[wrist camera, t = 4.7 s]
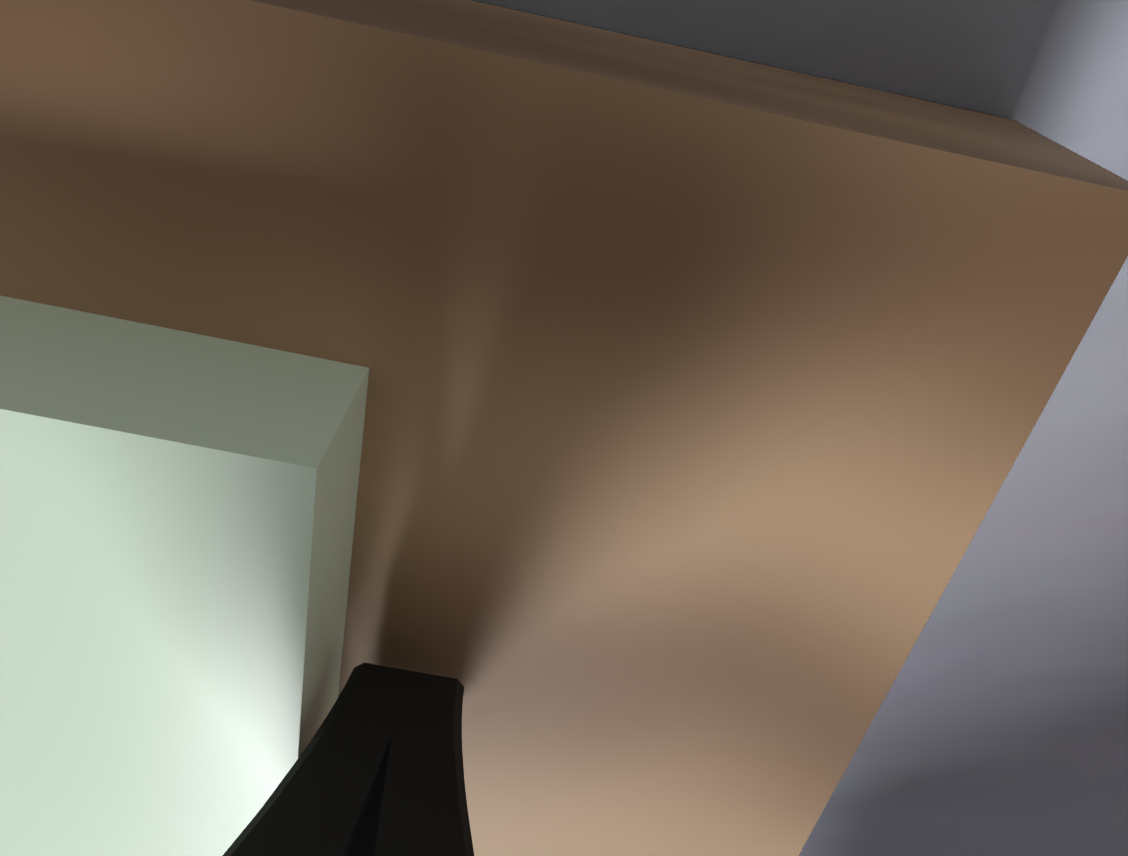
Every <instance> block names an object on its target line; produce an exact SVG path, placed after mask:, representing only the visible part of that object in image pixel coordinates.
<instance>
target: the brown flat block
mask: <svg viewBox="0 0 1128 856" xmlns="http://www.w3.org/2000/svg"><path fill="white" fill-rule="evenodd" d="M1127 256H1128V181H1127V180H1125V179H1123V178H1121V177H1119V176H1118V175H1116V174H1114V173H1112V172H1110V171H1108V170H1106V169H1105V168H1103V167H1101V166H1099V165H1097V164H1095V163H1093V162H1091V161H1090V160H1088V159H1086V158H1084V157H1082V156H1080V155H1078V154H1076V153H1075V152H1073V151H1071V150H1069V149H1067V148H1065V147H1063V146H1062V145H1060V144H1058V143H1056V142H1054V141H1052V140H1050V139H1048V138H1047V137H1045V136H1043V135H1041V134H1039V133H1037V132H1035V131H1033V130H1032V129H1030V128H1028V127H1026V126H1024V125H1022V124H1020V123H1018V122H1017V121H1015V120H1012V119H1007V118H1003V117H998V116H994V115H989V114H985V113H980V112H975V111H971V110H966V109H962V108H957V107H953V106H948V105H944V104H939V103H935V102H930V101H926V100H921V99H917V98H912V97H907V96H903V95H898V94H894V93H889V92H885V91H880V90H876V89H871V88H867V87H862V86H858V85H853V84H848V83H844V82H839V81H835V80H830V79H826V78H821V77H817V76H812V75H808V74H803V73H799V72H794V71H790V70H785V69H780V68H776V67H771V66H767V65H762V64H758V63H753V62H749V61H744V60H740V59H735V58H731V57H726V56H722V55H717V54H712V53H708V52H703V51H699V50H694V49H690V48H685V47H681V46H676V45H672V44H667V43H663V42H658V41H654V40H649V39H644V38H640V37H635V36H631V35H626V34H622V33H617V32H613V31H608V30H604V29H599V28H595V27H590V26H586V25H581V24H576V23H572V22H567V21H563V20H558V19H554V18H549V17H545V16H540V15H536V14H531V13H527V12H522V11H518V10H513V9H508V8H504V7H499V6H495V5H490V4H486V3H481V2H477V1H472V0H0V296H6V297H11V298H16V299H21V300H26V301H31V302H36V303H41V304H46V305H52V306H57V307H62V308H67V309H72V310H77V311H82V312H87V313H93V314H98V315H103V316H108V317H113V318H118V319H123V320H128V321H133V322H139V323H144V324H149V325H154V326H159V327H164V328H169V329H174V330H180V331H185V332H190V333H195V334H200V335H205V336H210V337H215V338H220V339H226V340H231V341H236V342H241V343H246V344H251V345H256V346H261V347H266V348H271V349H276V350H282V351H287V352H292V353H297V354H302V355H307V356H312V357H317V358H322V359H327V360H333V361H338V362H343V363H348V364H353V365H358V366H363V367H368V368H369V377H368V388H367V398H366V409H365V419H364V430H363V440H362V451H361V461H360V472H359V482H358V493H357V503H356V514H355V524H354V535H353V545H352V556H351V566H350V577H349V587H348V598H347V608H346V619H345V629H344V640H343V650H342V661H341V671H340V682H339V692H338V697H339V695H340V693H341V692H342V690H343V688H344V686H345V685H346V683H347V681H348V679H349V677H350V675H351V673H352V671H353V669H354V667H356V666H358V665H360V664H362V663H370V664H376V665H381V666H387V667H393V668H399V669H404V670H410V671H416V672H421V673H427V674H433V675H438V676H444V677H450V678H456V679H458V680H459V681H460V682H461V684H462V685H463V686H464V694H463V705H462V753H463V767H464V781H465V791H466V800H467V808H468V815H469V822H470V829H471V836H472V843H473V850H474V856H798V855H799V854H800V852H801V850H802V848H803V846H804V844H805V843H806V841H807V839H808V837H809V835H810V834H811V832H812V830H813V828H814V826H815V824H816V823H817V821H818V819H819V817H820V815H821V813H822V812H823V810H824V808H825V806H826V804H827V803H828V801H829V799H830V797H831V795H832V793H833V792H834V790H835V788H836V786H837V784H838V783H839V781H840V779H841V777H842V775H843V773H844V772H845V770H846V768H847V766H848V764H849V762H850V761H851V759H852V757H853V755H854V753H855V752H856V750H857V748H858V746H859V744H860V742H861V741H862V739H863V737H864V735H865V733H866V732H867V730H868V728H869V726H870V724H871V722H872V721H873V719H874V717H875V715H876V713H877V712H878V710H879V708H880V706H881V704H882V702H883V701H884V699H885V697H886V695H887V693H888V691H889V690H890V688H891V686H892V684H893V682H894V681H895V679H896V677H897V675H898V673H899V671H900V670H901V668H902V666H903V664H904V662H905V661H906V659H907V657H908V655H909V653H910V651H911V650H912V648H913V646H914V644H915V642H916V640H917V639H918V637H919V635H920V633H921V631H922V630H923V628H924V626H925V624H926V622H927V620H928V619H929V617H930V615H931V613H932V611H933V610H934V608H935V606H936V604H937V602H938V600H939V599H940V597H941V595H942V593H943V591H944V590H945V588H946V586H947V584H948V582H949V580H950V579H951V577H952V575H953V573H954V571H955V569H956V568H957V566H958V564H959V562H960V560H961V559H962V557H963V555H964V553H965V551H966V549H967V548H968V546H969V544H970V542H971V540H972V539H973V537H974V535H975V533H976V531H977V529H978V528H979V526H980V524H981V522H982V520H983V518H984V517H985V515H986V513H987V511H988V509H989V508H990V506H991V504H992V502H993V500H994V498H995V497H996V495H997V493H998V491H999V489H1000V488H1001V486H1002V484H1003V482H1004V480H1005V478H1006V477H1007V475H1008V473H1009V471H1010V469H1011V467H1012V466H1013V464H1014V462H1015V460H1016V458H1017V457H1018V455H1019V453H1020V451H1021V449H1022V447H1023V446H1024V444H1025V442H1026V440H1027V438H1028V437H1029V435H1030V433H1031V431H1032V429H1033V427H1034V426H1035V424H1036V422H1037V420H1038V418H1039V417H1040V415H1041V413H1042V411H1043V409H1044V407H1045V406H1046V404H1047V402H1048V400H1049V398H1050V396H1051V395H1052V393H1053V391H1054V389H1055V387H1056V386H1057V384H1058V382H1059V380H1060V378H1061V376H1062V375H1063V373H1064V371H1065V369H1066V367H1067V366H1068V364H1069V362H1070V360H1071V358H1072V356H1073V355H1074V353H1075V351H1076V349H1077V347H1078V345H1079V344H1080V342H1081V340H1082V338H1083V336H1084V335H1085V333H1086V331H1087V329H1088V327H1089V325H1090V324H1091V322H1092V320H1093V318H1094V316H1095V315H1096V313H1097V311H1098V309H1099V307H1100V305H1101V304H1102V302H1103V300H1104V298H1105V296H1106V294H1107V293H1108V291H1109V289H1110V287H1111V285H1112V284H1113V282H1114V280H1115V278H1116V276H1117V274H1118V273H1119V271H1120V269H1121V267H1122V265H1123V264H1124V262H1125V260H1126V258H1127Z"/></svg>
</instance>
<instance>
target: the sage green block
mask: <svg viewBox="0 0 1128 856" xmlns="http://www.w3.org/2000/svg"><path fill="white" fill-rule="evenodd" d="M368 377H369V368H368V367H363V366H358V365H353V364H348V363H343V362H338V361H333V360H327V359H322V358H317V357H312V356H307V355H302V354H297V353H292V352H287V351H282V350H276V349H271V348H266V347H261V346H256V345H251V344H246V343H241V342H236V341H231V340H226V339H220V338H215V337H210V336H205V335H200V334H195V333H190V332H185V331H180V330H174V329H169V328H164V327H159V326H154V325H149V324H144V323H139V322H133V321H128V320H123V319H118V318H113V317H108V316H103V315H98V314H93V313H87V312H82V311H77V310H72V309H67V308H62V307H57V306H52V305H46V304H41V303H36V302H31V301H26V300H21V299H16V298H11V297H6V296H0V856H222V855H223V854H224V853H225V852H226V851H227V849H228V848H229V847H230V846H231V845H232V843H233V842H234V841H235V840H236V839H237V837H238V836H239V835H240V834H241V832H242V831H243V830H244V829H245V828H246V826H247V825H248V824H249V823H250V822H251V820H252V819H253V818H254V817H255V815H256V814H257V813H258V812H259V810H260V809H261V808H262V807H263V805H264V804H265V803H266V801H267V800H268V799H269V797H270V796H271V795H272V793H273V792H274V791H275V789H276V788H277V786H278V785H279V784H280V782H281V781H282V780H283V778H284V777H285V776H286V774H287V773H288V772H289V770H290V769H291V768H292V766H293V765H294V763H295V762H296V761H297V759H298V758H299V757H300V755H301V754H302V753H303V751H304V750H305V748H306V747H307V745H308V744H309V742H310V741H311V739H312V738H313V736H314V735H315V733H316V732H317V730H318V729H319V727H320V726H321V724H322V723H323V721H324V720H325V718H326V717H327V715H328V713H329V712H330V710H331V709H332V707H333V705H334V704H335V702H336V700H337V699H338V692H339V682H340V671H341V661H342V650H343V640H344V629H345V619H346V608H347V598H348V587H349V577H350V566H351V556H352V545H353V535H354V524H355V514H356V503H357V493H358V482H359V472H360V461H361V451H362V440H363V430H364V419H365V409H366V398H367V388H368Z"/></svg>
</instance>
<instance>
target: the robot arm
mask: <svg viewBox="0 0 1128 856" xmlns="http://www.w3.org/2000/svg"><path fill="white" fill-rule="evenodd" d="M463 694H464V686H463V685H462V684H461V682H460V681H459V680H458V679H456V678H450V677H444V676H438V675H433V674H427V673H421V672H416V671H410V670H404V669H399V668H393V667H387V666H381V665H376V664H370V663H362V664H360V665H358V666H356V667H354V669H353V671H352V673H351V675H350V677H349V679H348V681H347V683H346V685H345V686H344V688H343V690H342V692H341V693H340V695H339V697H338V699H337V700H336V702H335V704H334V705H333V707H332V709H331V710H330V712H329V713H328V715H327V717H326V718H325V720H324V721H323V723H322V724H321V726H320V727H319V729H318V730H317V732H316V733H315V735H314V736H313V738H312V739H311V741H310V742H309V744H308V745H307V747H306V748H305V750H304V751H303V753H302V754H301V755H300V757H299V758H298V759H297V761H296V762H295V763H294V765H293V766H292V768H291V769H290V770H289V772H288V773H287V774H286V776H285V777H284V778H283V780H282V781H281V782H280V784H279V785H278V786H277V788H276V789H275V791H274V792H273V793H272V795H271V796H270V797H269V799H268V800H267V801H266V803H265V804H264V805H263V807H262V808H261V809H260V810H259V812H258V813H257V814H256V815H255V817H254V818H253V819H252V820H251V822H250V823H249V824H248V825H247V826H246V828H245V829H244V830H243V831H242V832H241V834H240V835H239V836H238V837H237V839H236V840H235V841H234V842H233V843H232V845H231V846H230V847H229V848H228V849H227V851H226V852H225V853H224V854H223V855H222V856H474V850H473V843H472V836H471V829H470V822H469V815H468V808H467V800H466V791H465V781H464V767H463V753H462V705H463Z"/></svg>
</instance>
